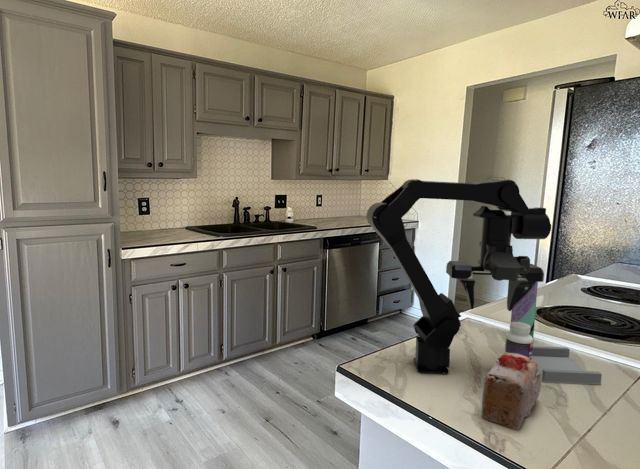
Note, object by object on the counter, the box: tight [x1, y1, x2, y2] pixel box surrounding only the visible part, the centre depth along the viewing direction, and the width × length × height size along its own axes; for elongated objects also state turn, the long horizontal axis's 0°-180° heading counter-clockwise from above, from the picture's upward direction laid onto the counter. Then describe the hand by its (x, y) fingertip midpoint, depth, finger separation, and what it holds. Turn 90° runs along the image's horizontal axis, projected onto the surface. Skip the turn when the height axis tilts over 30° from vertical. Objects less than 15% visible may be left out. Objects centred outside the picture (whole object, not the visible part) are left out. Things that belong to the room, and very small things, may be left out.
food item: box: [481, 351, 543, 430], centre depth 71 cm, size 14×8×10 cm, turn 143°
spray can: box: [509, 281, 539, 339], centre depth 103 cm, size 6×6×20 cm
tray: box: [532, 345, 603, 386], centre depth 87 cm, size 11×13×2 cm
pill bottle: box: [504, 321, 534, 359], centre depth 87 cm, size 5×5×10 cm
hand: (490, 309), depth 87 cm, fingers open, 8 cm apart
